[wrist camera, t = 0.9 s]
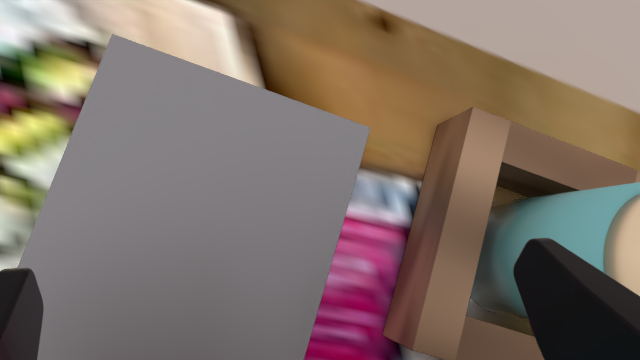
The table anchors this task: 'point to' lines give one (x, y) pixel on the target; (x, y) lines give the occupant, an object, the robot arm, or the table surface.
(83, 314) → the gray rectangular panel
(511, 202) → the teal jar
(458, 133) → the walnut frame
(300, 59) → the table surface
